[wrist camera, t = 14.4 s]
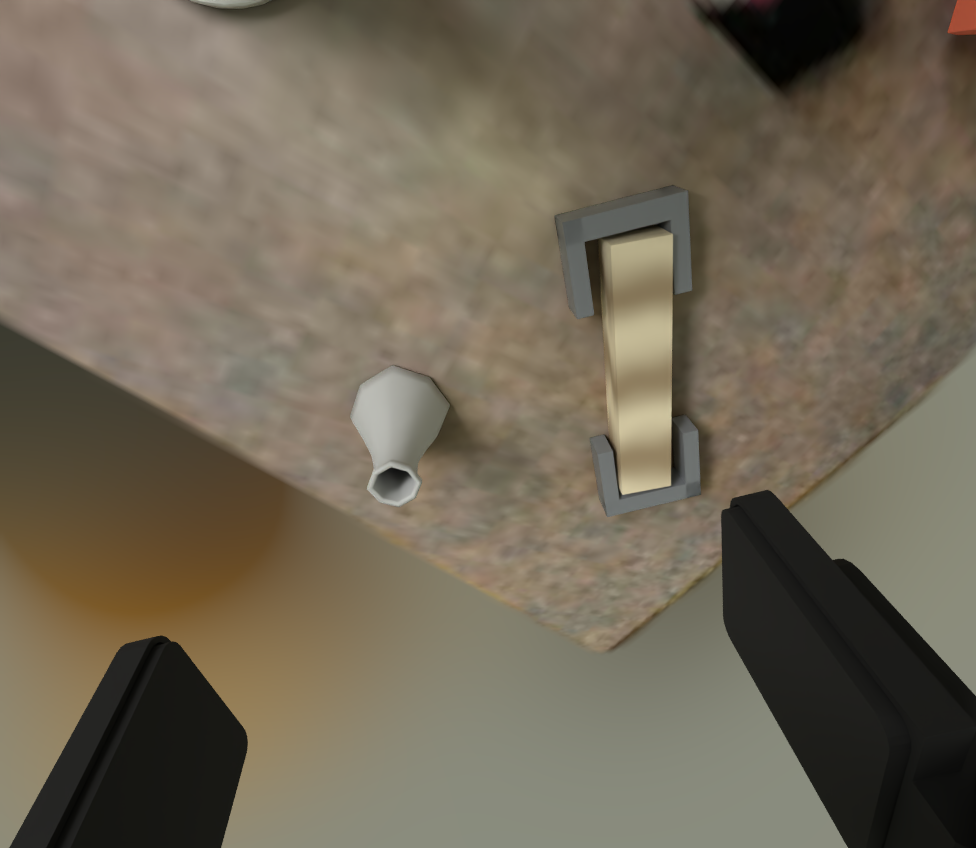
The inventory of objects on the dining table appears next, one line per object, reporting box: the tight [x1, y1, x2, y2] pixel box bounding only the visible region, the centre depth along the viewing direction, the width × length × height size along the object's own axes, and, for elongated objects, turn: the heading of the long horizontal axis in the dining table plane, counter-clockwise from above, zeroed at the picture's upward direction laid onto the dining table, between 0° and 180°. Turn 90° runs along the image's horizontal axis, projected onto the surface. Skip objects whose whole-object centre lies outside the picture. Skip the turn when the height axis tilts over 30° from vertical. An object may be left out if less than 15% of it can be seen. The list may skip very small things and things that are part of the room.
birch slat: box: [598, 225, 673, 495], centre depth 43 cm, size 20×4×4 cm, turn 9°
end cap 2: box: [590, 415, 701, 517], centre depth 47 cm, size 6×8×2 cm
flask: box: [350, 365, 450, 507], centre depth 40 cm, size 7×7×10 cm
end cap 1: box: [554, 185, 692, 319], centre depth 38 cm, size 6×8×2 cm
